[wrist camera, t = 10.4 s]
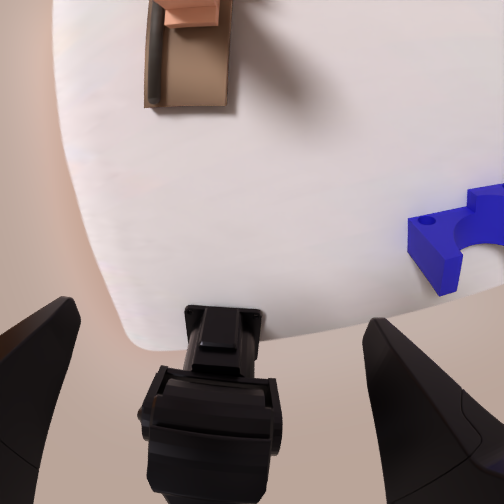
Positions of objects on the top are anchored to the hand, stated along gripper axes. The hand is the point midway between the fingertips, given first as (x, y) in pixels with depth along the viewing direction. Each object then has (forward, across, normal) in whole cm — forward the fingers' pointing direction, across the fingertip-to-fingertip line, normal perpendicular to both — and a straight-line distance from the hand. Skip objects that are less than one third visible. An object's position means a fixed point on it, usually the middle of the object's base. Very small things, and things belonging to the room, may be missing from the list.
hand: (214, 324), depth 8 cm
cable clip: (+14, -19, +1) cm, 23 cm away
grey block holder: (+13, +4, -10) cm, 17 cm away
